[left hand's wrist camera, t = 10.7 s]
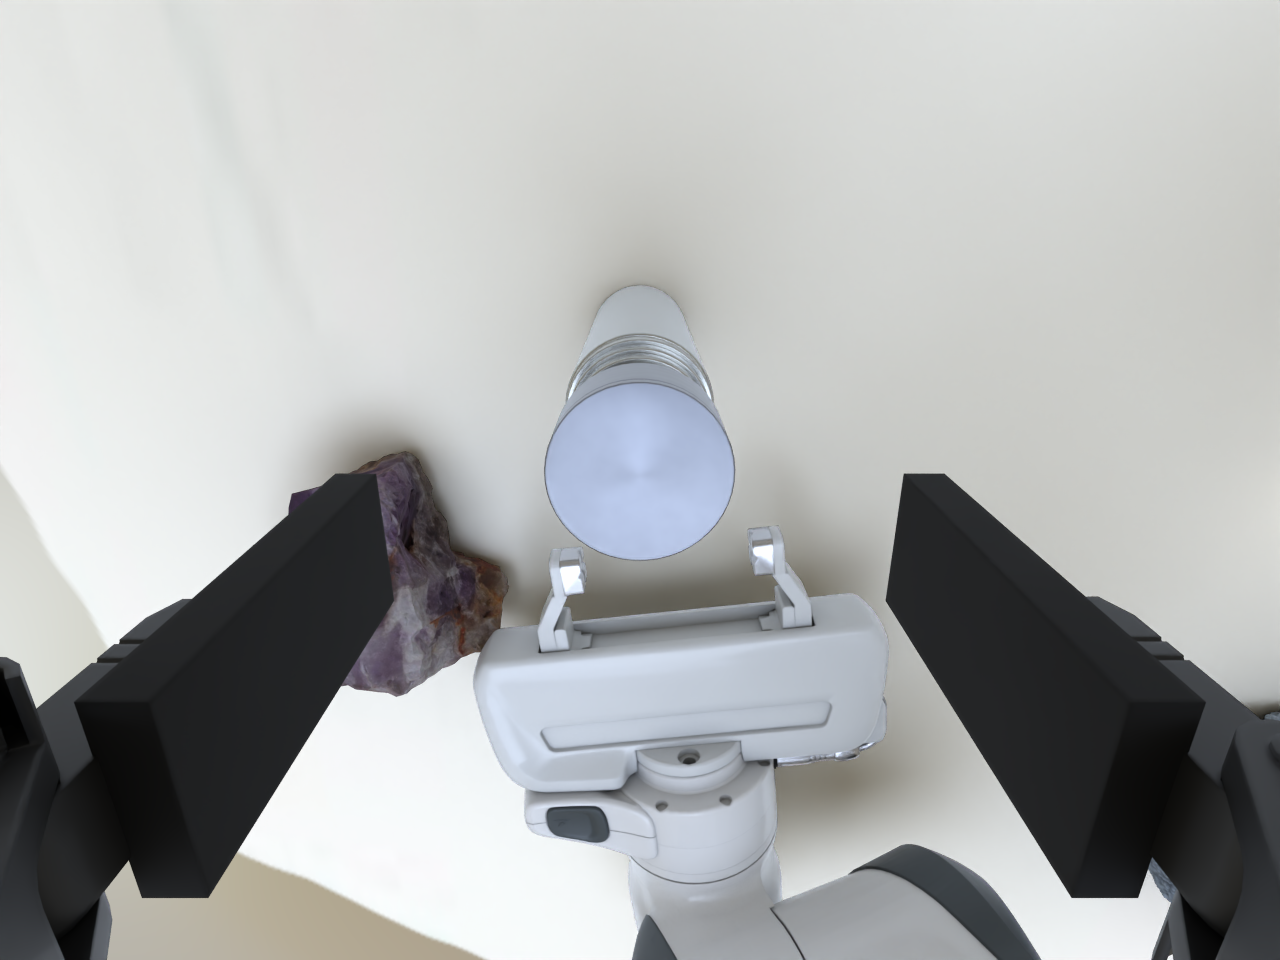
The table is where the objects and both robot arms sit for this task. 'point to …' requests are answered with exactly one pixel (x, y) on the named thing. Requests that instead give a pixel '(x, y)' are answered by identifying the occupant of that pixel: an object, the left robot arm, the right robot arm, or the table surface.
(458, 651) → the rock
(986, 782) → the table surface
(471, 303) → the table surface
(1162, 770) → the left robot arm
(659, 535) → the cap
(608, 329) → the bottle
